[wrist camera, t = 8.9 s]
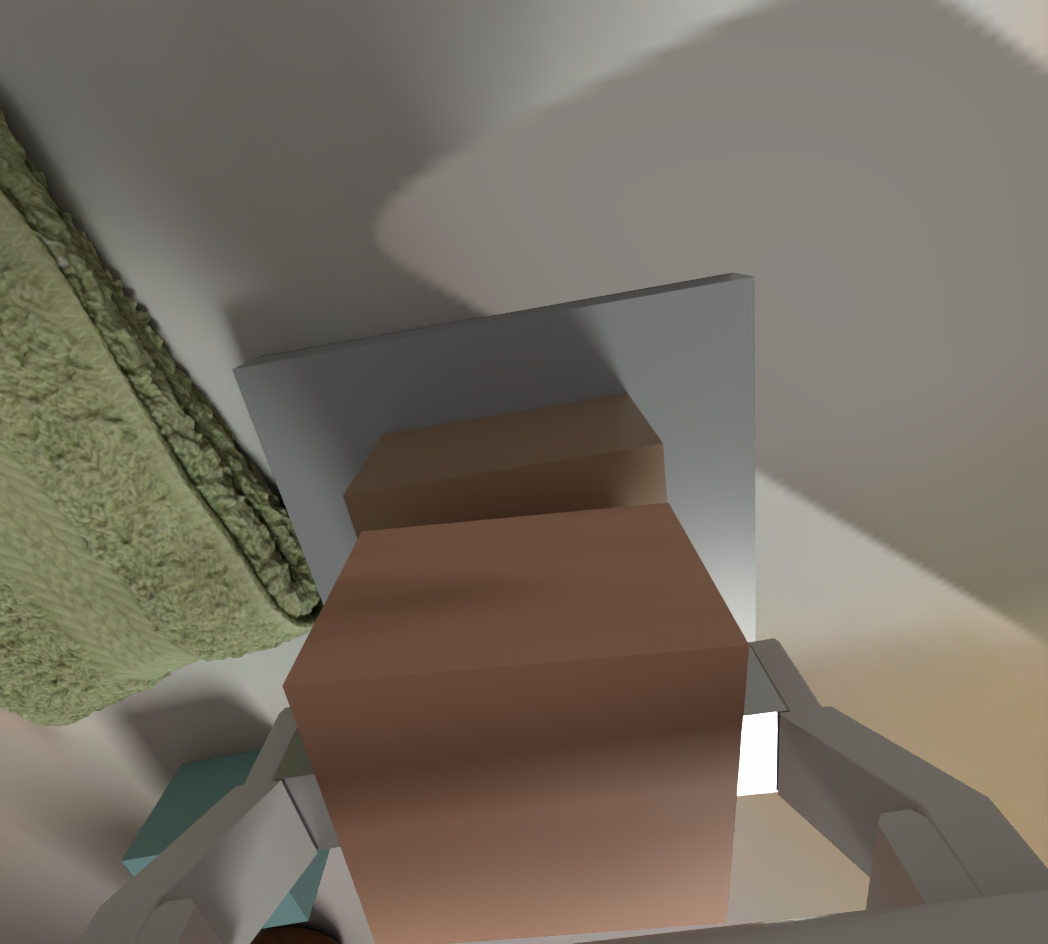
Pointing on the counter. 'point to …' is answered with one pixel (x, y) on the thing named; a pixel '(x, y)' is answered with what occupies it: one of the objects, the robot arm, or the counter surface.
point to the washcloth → (116, 488)
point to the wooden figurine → (293, 937)
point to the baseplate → (524, 370)
